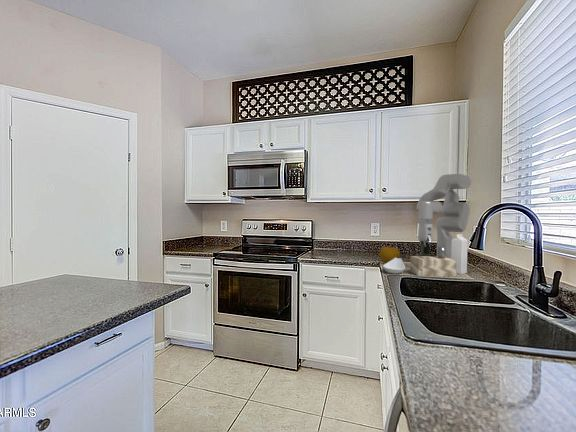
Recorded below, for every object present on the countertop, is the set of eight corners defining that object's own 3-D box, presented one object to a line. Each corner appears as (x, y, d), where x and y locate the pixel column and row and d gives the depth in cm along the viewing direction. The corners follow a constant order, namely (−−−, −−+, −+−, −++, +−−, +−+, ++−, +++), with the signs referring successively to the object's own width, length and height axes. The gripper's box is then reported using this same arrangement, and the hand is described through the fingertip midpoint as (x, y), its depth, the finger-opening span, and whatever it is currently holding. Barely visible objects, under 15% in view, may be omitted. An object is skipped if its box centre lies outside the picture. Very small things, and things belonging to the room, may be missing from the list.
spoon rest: (403, 276, 160) (403, 262, 160) (380, 273, 166) (380, 260, 166) (409, 269, 180) (410, 257, 180) (389, 267, 186) (389, 255, 186)
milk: (450, 272, 173) (451, 233, 173) (456, 271, 176) (457, 233, 176) (461, 274, 168) (462, 234, 168) (467, 273, 171) (467, 234, 171)
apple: (379, 261, 205) (379, 245, 205) (399, 263, 201) (400, 246, 201) (378, 264, 193) (379, 247, 193) (400, 266, 189) (400, 248, 189)
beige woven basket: (445, 272, 171) (445, 246, 171) (456, 276, 160) (456, 248, 160) (410, 271, 171) (410, 245, 171) (418, 275, 160) (419, 247, 160)
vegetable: (425, 271, 175) (426, 236, 175) (418, 269, 178) (419, 236, 178) (429, 270, 177) (430, 236, 177) (422, 269, 181) (423, 235, 181)
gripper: (439, 222, 169) (438, 255, 169) (425, 221, 186) (424, 251, 186) (425, 222, 169) (424, 254, 169) (413, 221, 186) (412, 250, 186)
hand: (424, 252), depth 178 cm, fingers closed on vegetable, 4 cm apart
